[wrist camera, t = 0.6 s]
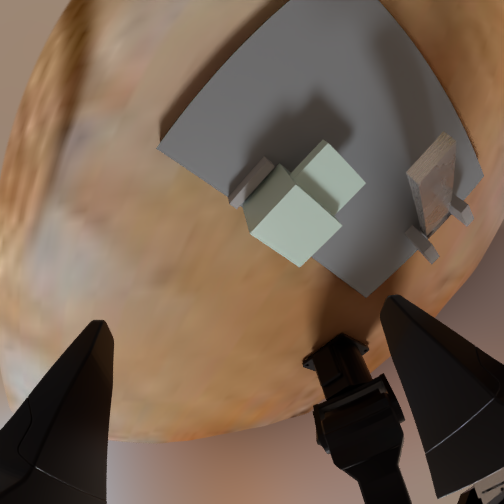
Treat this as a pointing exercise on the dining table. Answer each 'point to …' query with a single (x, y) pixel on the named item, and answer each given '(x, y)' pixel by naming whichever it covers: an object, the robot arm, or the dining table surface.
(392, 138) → the board
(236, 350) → the dining table surface
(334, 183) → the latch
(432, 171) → the strap
